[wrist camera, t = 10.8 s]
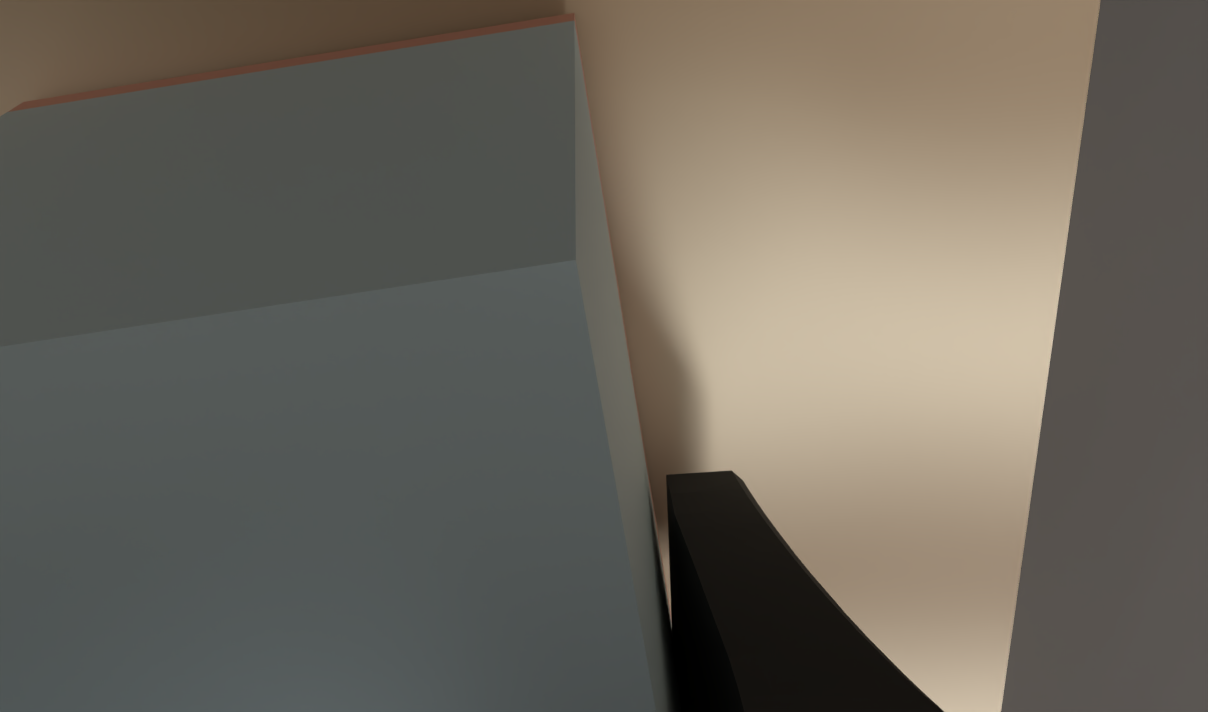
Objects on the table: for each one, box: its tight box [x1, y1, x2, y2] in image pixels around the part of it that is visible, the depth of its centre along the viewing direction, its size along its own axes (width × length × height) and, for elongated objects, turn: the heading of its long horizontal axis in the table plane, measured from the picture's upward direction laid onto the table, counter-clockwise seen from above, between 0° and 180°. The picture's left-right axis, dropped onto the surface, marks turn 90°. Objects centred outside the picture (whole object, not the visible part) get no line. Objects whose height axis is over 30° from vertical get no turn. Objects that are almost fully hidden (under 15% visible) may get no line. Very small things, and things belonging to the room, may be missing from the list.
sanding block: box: [0, 13, 681, 712], centre depth 9 cm, size 8×4×5 cm, turn 9°
